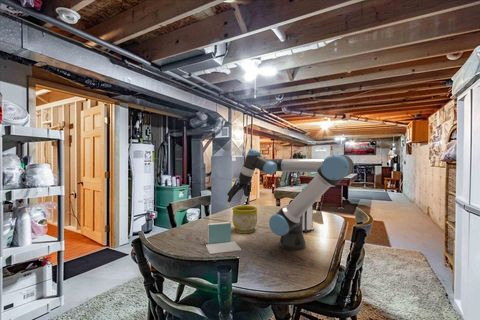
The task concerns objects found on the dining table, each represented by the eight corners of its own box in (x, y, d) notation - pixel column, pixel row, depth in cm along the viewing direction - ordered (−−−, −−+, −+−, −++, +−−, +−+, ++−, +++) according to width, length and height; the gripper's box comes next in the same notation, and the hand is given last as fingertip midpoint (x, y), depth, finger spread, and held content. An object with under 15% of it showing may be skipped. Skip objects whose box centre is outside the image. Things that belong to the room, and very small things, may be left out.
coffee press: (311, 227, 185) (312, 187, 184) (316, 233, 169) (316, 190, 168) (288, 226, 186) (288, 186, 186) (290, 233, 170) (290, 189, 170)
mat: (205, 245, 147) (205, 244, 147) (234, 242, 153) (234, 241, 153) (210, 254, 134) (210, 253, 134) (241, 250, 139) (241, 249, 139)
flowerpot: (247, 236, 163) (247, 211, 163) (227, 231, 174) (227, 208, 174) (262, 230, 178) (262, 207, 177) (242, 225, 188) (242, 204, 188)
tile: (207, 243, 151) (207, 223, 151) (229, 240, 155) (229, 221, 155) (208, 244, 148) (208, 224, 148) (231, 242, 152) (231, 223, 152)
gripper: (253, 172, 160) (242, 201, 164) (228, 171, 140) (217, 204, 144) (262, 177, 156) (250, 206, 160) (238, 176, 136) (226, 210, 140)
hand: (234, 205), depth 152 cm, fingers open, 13 cm apart
